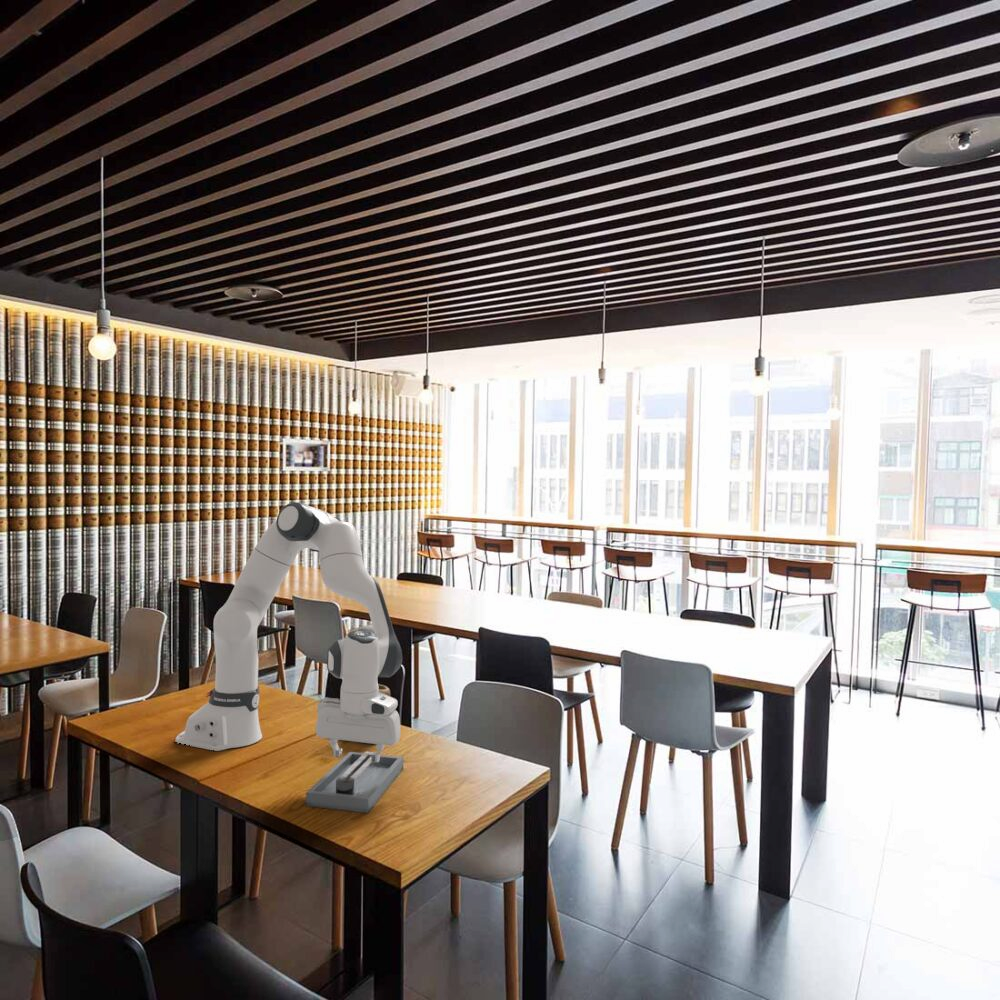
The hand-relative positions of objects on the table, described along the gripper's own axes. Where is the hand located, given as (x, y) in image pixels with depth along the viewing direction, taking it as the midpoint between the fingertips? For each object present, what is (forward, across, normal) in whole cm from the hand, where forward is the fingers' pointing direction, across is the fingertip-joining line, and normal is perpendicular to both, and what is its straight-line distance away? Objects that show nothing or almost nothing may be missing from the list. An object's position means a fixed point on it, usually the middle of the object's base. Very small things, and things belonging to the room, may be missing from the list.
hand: (356, 759), depth 163 cm
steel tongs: (+5, 0, +1) cm, 5 cm away
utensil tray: (+6, +1, 0) cm, 6 cm away
